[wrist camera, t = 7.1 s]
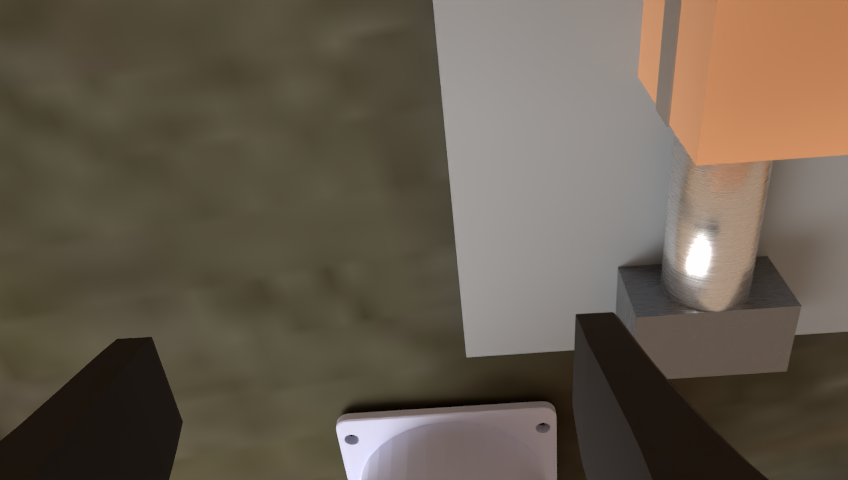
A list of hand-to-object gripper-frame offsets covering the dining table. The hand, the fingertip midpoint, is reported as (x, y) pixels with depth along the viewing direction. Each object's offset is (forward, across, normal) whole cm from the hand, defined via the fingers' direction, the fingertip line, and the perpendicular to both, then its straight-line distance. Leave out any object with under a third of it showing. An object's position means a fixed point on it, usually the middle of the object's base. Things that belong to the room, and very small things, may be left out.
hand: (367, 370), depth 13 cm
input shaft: (+10, -8, +3) cm, 13 cm away
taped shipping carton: (+9, -8, -4) cm, 13 cm away
